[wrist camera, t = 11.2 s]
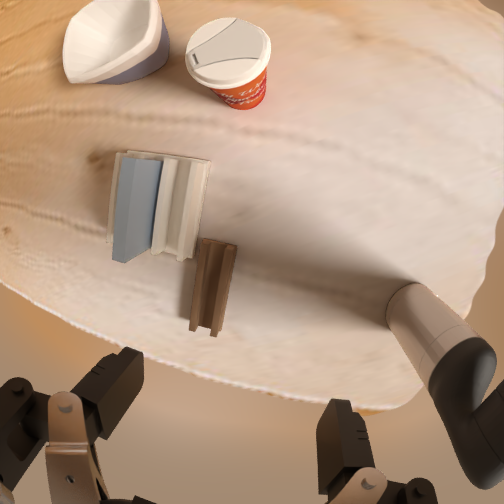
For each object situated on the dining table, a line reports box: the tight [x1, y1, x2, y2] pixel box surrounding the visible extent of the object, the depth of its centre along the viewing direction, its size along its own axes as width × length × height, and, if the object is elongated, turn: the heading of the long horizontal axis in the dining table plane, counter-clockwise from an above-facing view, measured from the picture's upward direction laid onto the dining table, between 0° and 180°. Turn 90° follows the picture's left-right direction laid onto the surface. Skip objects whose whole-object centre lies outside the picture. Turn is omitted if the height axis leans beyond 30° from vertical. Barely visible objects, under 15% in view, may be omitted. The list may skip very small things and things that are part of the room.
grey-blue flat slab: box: [112, 157, 164, 263], centre depth 34 cm, size 2×12×10 cm, turn 168°
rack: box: [106, 150, 211, 262], centre depth 37 cm, size 13×14×5 cm
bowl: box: [63, 0, 169, 85], centre depth 28 cm, size 15×15×11 cm
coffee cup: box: [185, 18, 271, 110], centre depth 27 cm, size 8×8×15 cm
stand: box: [189, 239, 237, 337], centre depth 41 cm, size 5×14×3 cm, turn 168°
